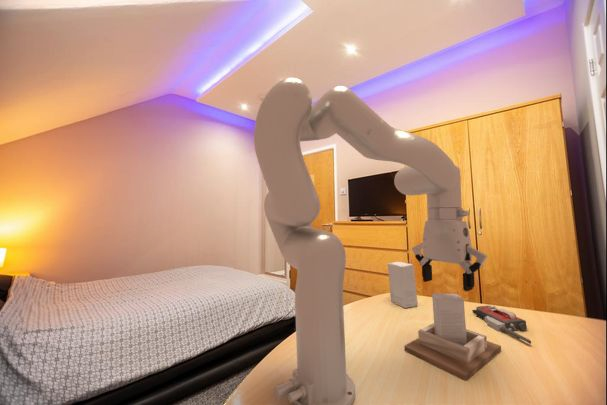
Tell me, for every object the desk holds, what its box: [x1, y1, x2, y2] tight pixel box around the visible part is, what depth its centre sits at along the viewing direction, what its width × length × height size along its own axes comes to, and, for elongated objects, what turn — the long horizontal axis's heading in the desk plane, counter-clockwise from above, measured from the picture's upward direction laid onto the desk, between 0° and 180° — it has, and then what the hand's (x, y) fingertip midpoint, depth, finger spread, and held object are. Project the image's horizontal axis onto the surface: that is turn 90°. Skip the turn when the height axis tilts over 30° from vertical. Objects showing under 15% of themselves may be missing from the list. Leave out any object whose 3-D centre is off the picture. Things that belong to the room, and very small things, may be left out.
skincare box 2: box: [431, 293, 467, 346], centre depth 62 cm, size 6×4×12 cm
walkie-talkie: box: [472, 305, 532, 344], centre depth 73 cm, size 9×4×20 cm
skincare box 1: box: [387, 261, 419, 309], centre depth 94 cm, size 8×6×15 cm
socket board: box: [403, 322, 502, 382], centre depth 62 cm, size 18×14×4 cm
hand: (446, 285), depth 62 cm, fingers open, 9 cm apart
